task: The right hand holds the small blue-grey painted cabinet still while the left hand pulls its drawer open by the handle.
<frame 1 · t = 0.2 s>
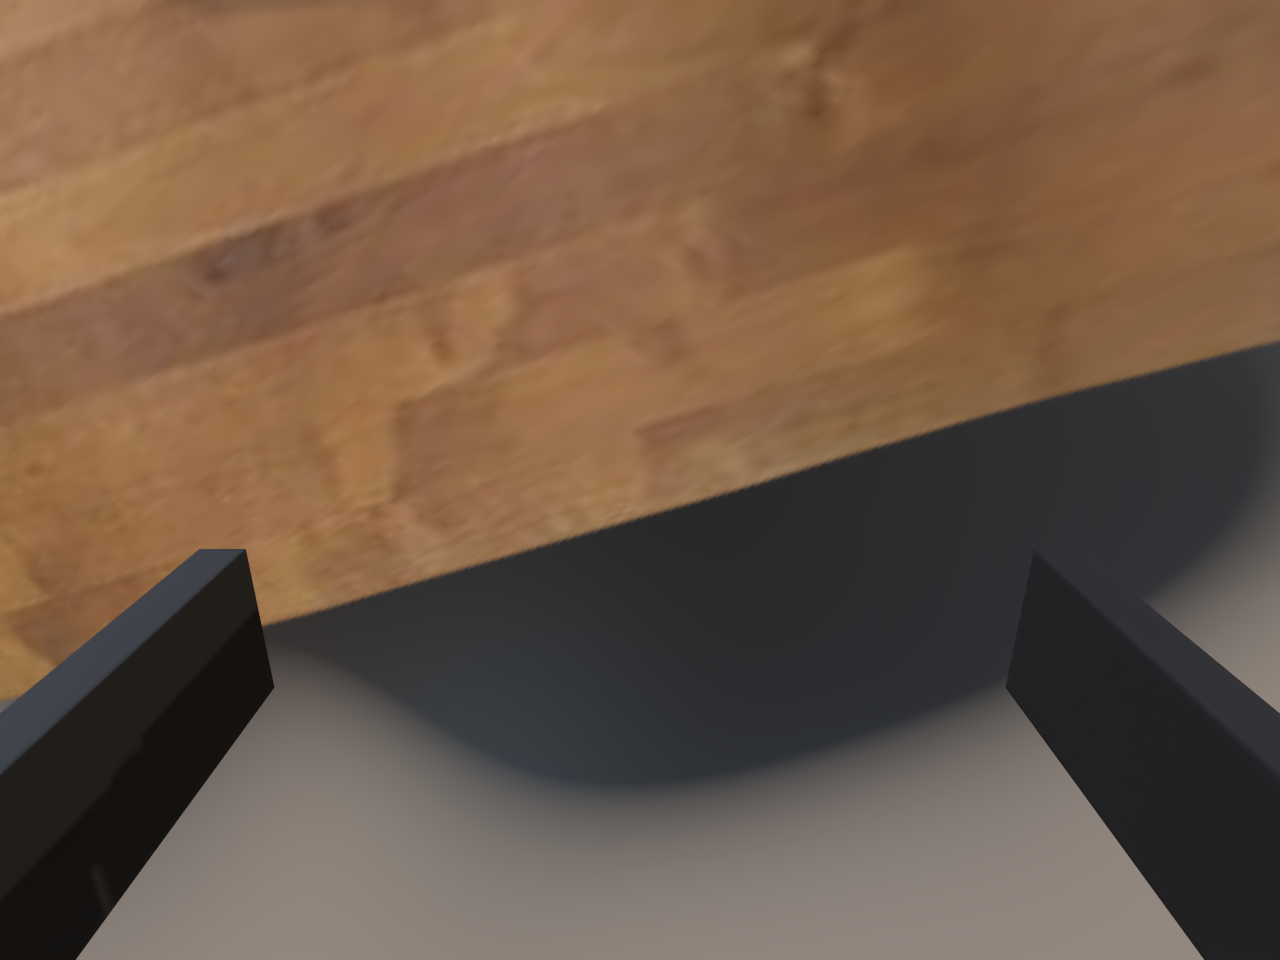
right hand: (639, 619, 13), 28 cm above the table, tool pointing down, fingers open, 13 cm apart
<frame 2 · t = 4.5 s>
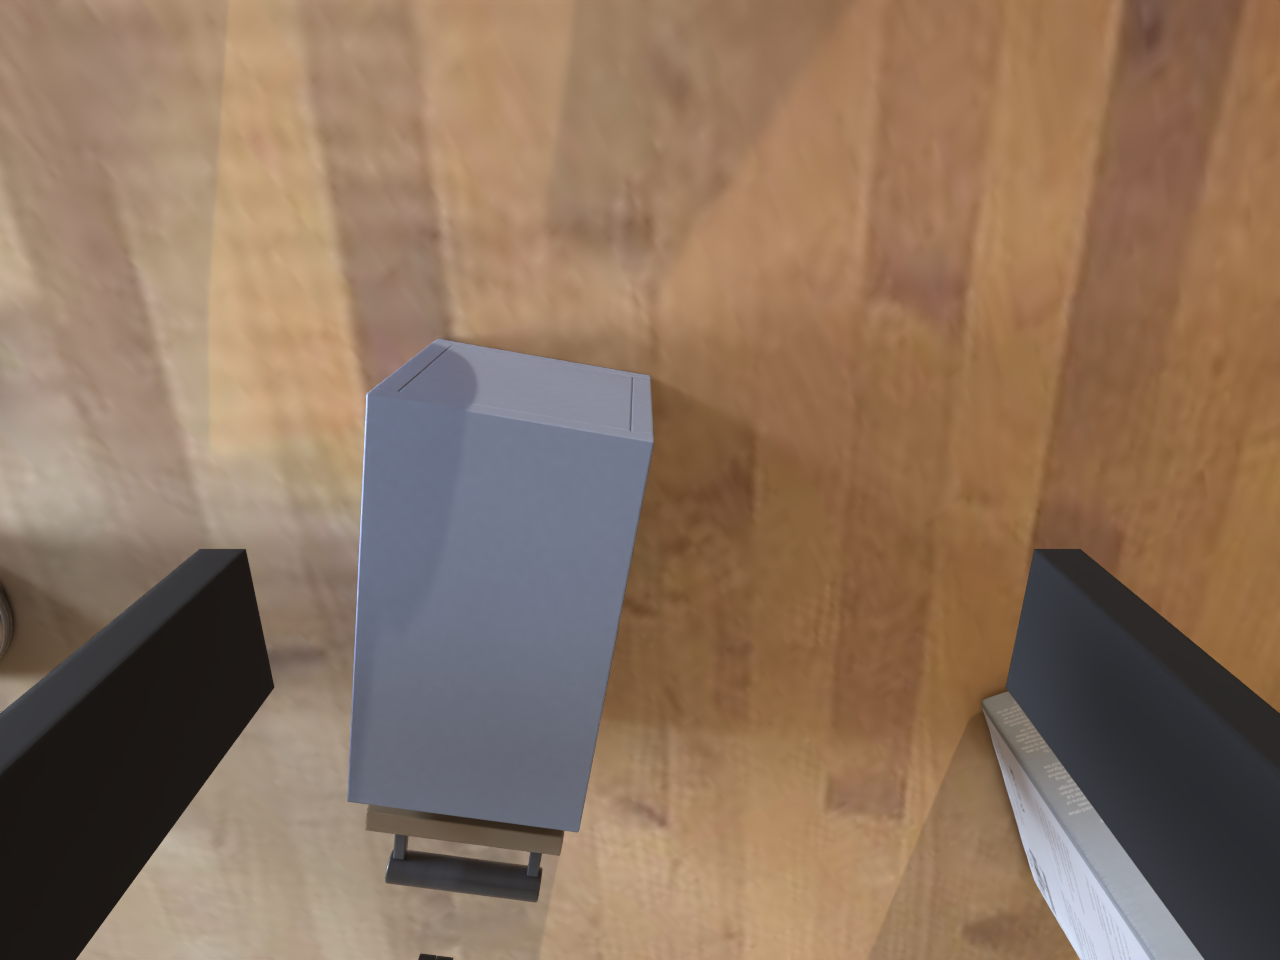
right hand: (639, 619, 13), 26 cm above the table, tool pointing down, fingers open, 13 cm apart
drawer: (492, 687, 38), point 5 cm above the table, slide at 1.4 cm
cabinet: (521, 531, 41), on the table
hard drive box: (1064, 770, 47), on the table
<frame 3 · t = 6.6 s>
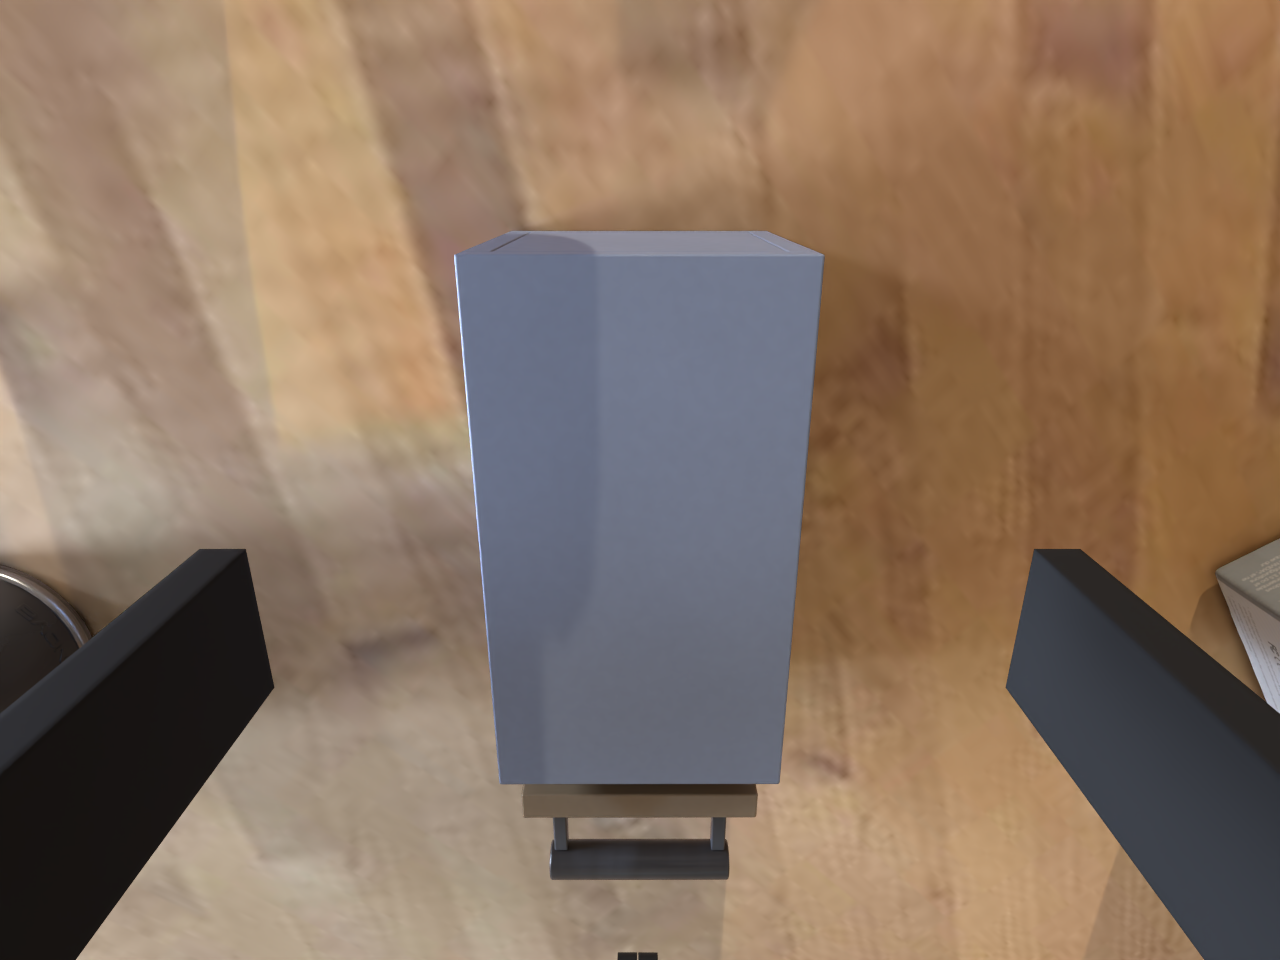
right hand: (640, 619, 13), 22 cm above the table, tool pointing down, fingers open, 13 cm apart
drawer: (639, 632, 32), point 5 cm above the table, slide at 1.4 cm
cabinet: (639, 452, 35), on the table
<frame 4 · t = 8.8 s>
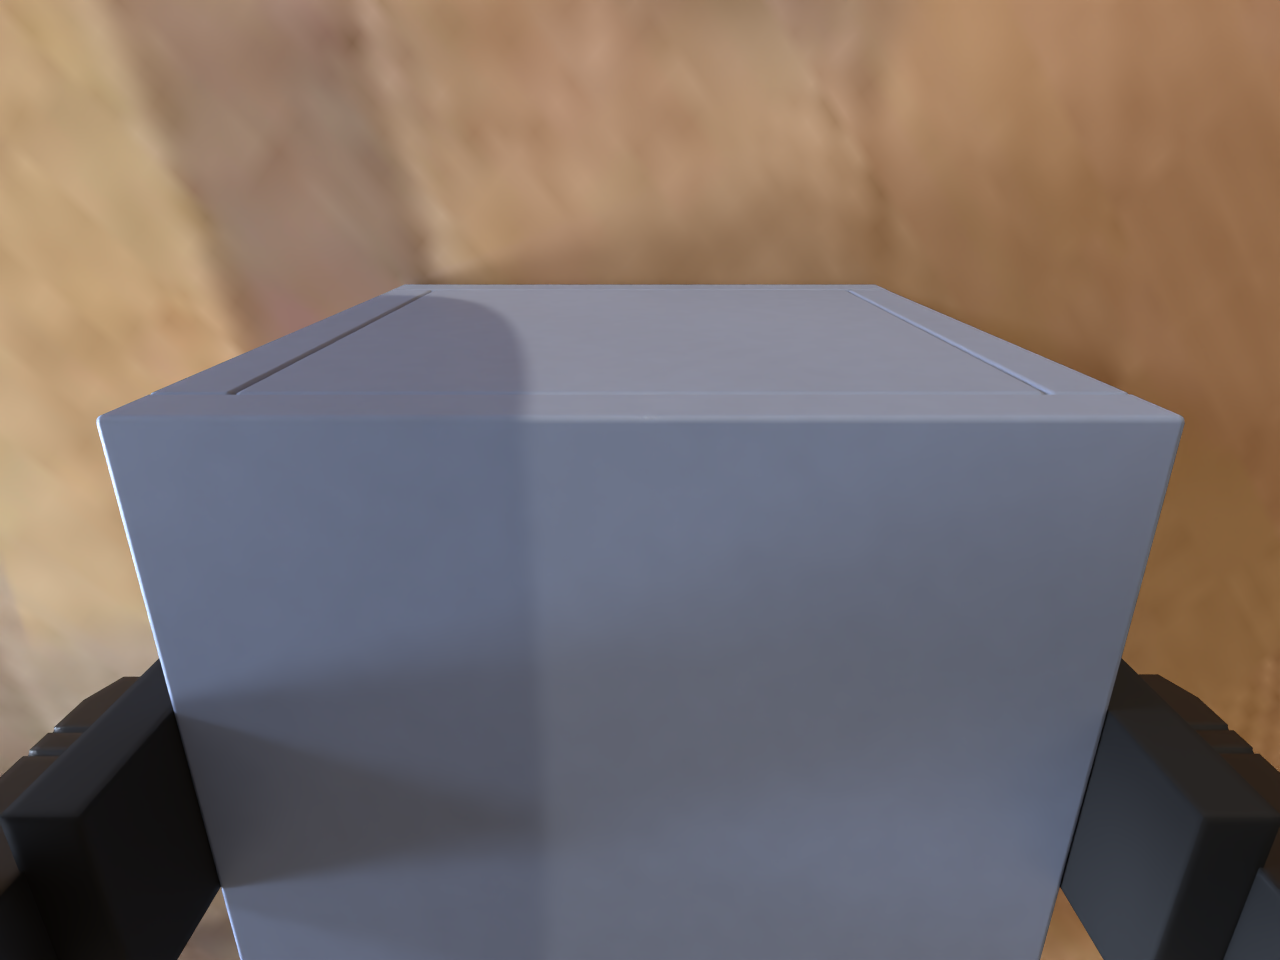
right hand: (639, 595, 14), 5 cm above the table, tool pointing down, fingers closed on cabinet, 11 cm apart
cabinet: (639, 651, 20), on the table, touching right hand
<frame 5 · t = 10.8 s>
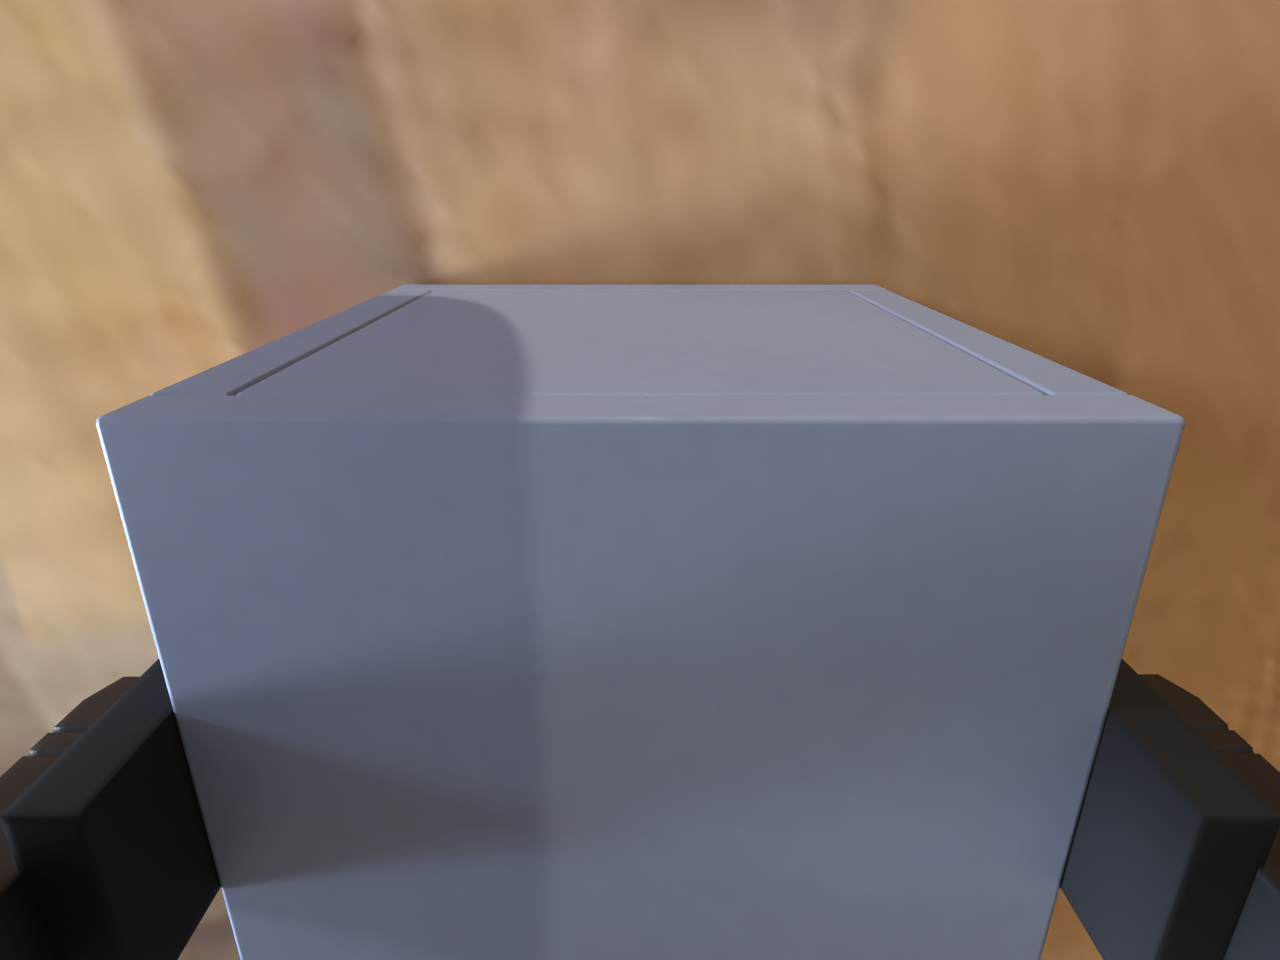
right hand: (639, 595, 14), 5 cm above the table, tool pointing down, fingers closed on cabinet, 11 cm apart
cabinet: (639, 651, 20), on the table, touching right hand
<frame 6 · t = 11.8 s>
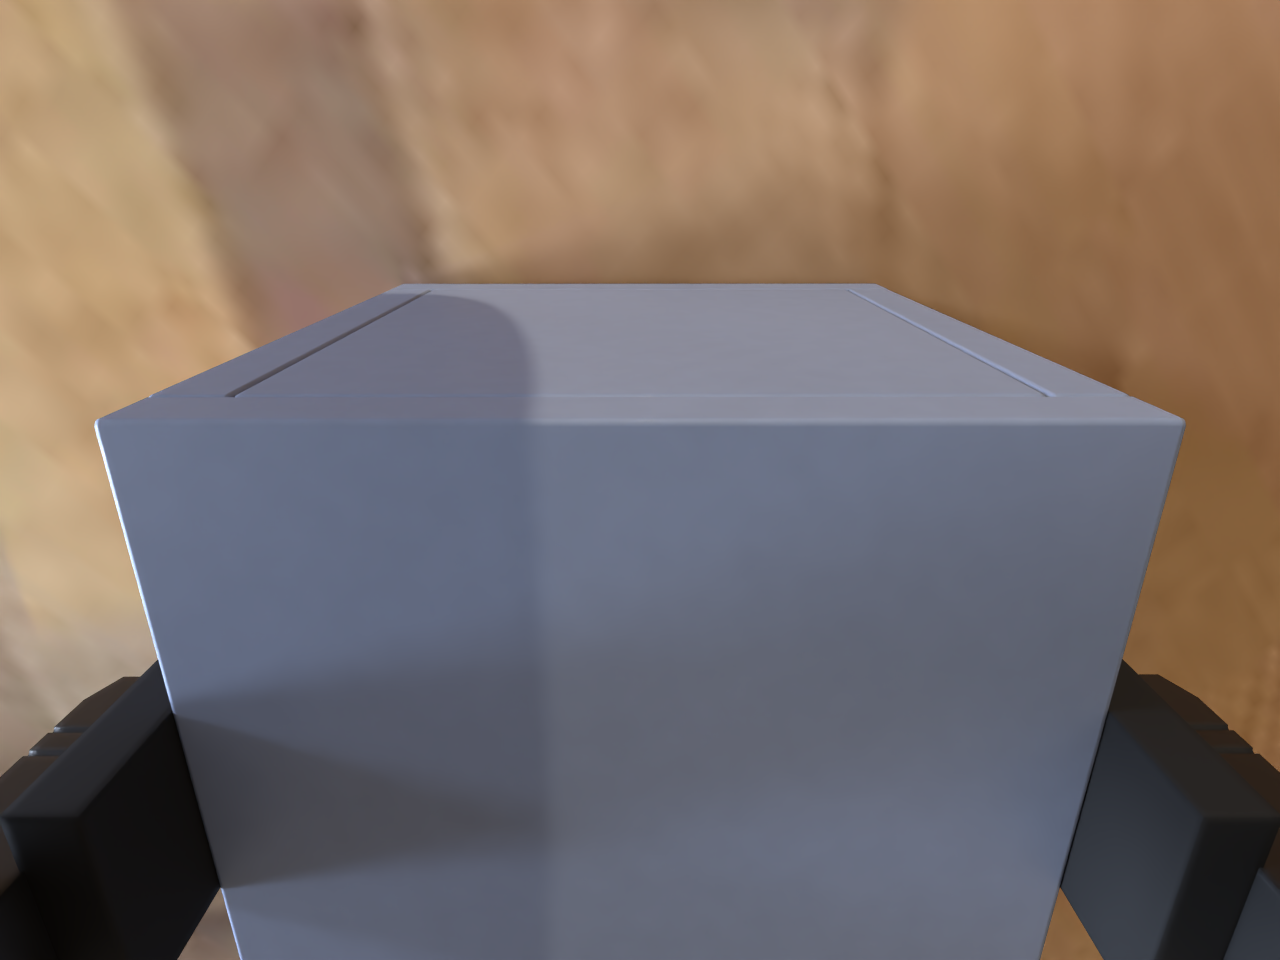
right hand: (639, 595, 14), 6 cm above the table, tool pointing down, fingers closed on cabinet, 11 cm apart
cabinet: (639, 650, 20), on the table, touching right hand
when the right hand's fingers open (5 cm above the table, at t = 13.5 s): cabinet stays where it is, on the table.
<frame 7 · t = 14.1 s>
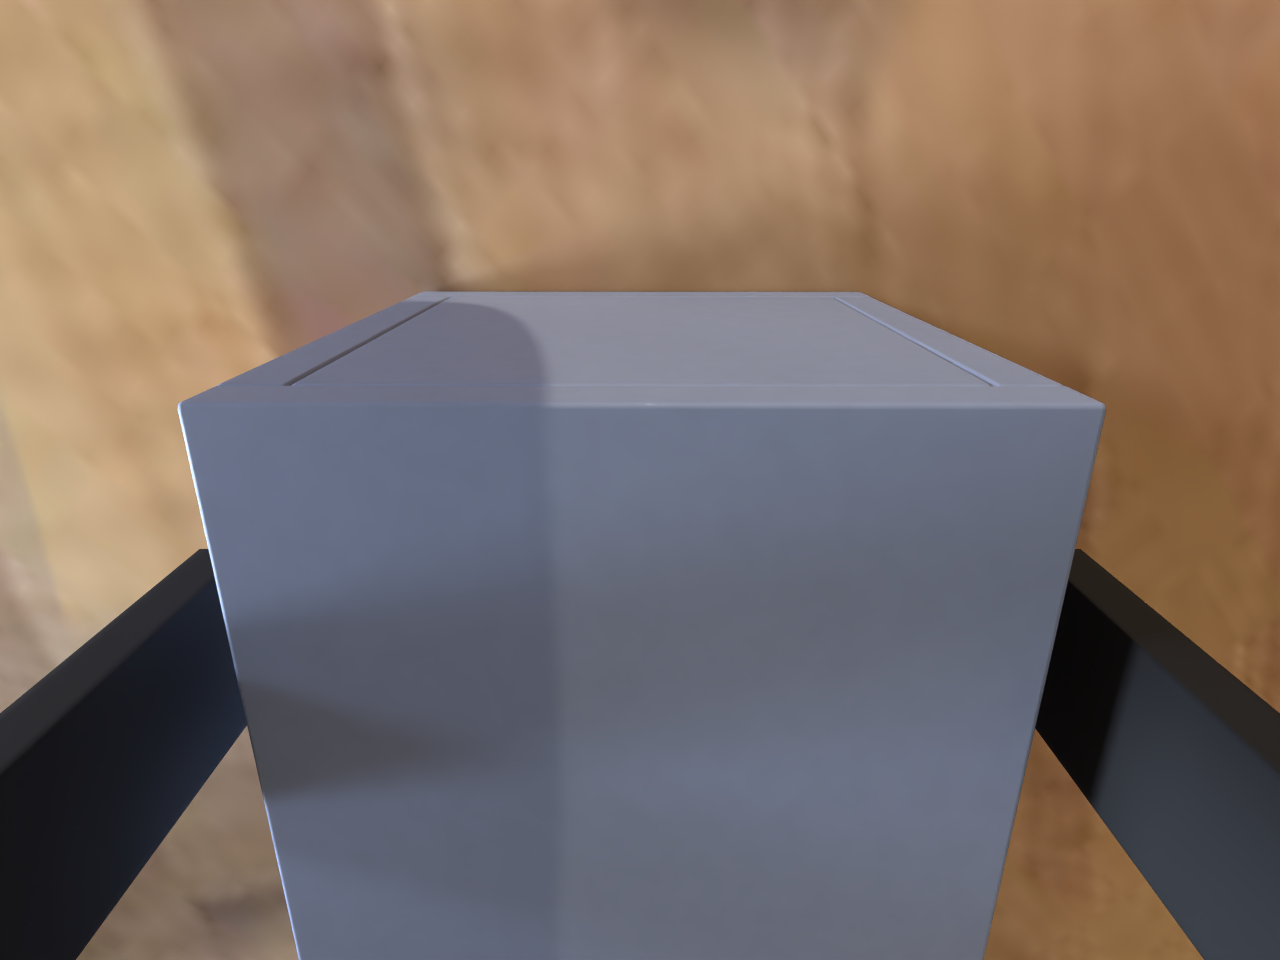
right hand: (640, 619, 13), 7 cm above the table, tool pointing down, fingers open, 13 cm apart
cabinet: (641, 637, 22), on the table
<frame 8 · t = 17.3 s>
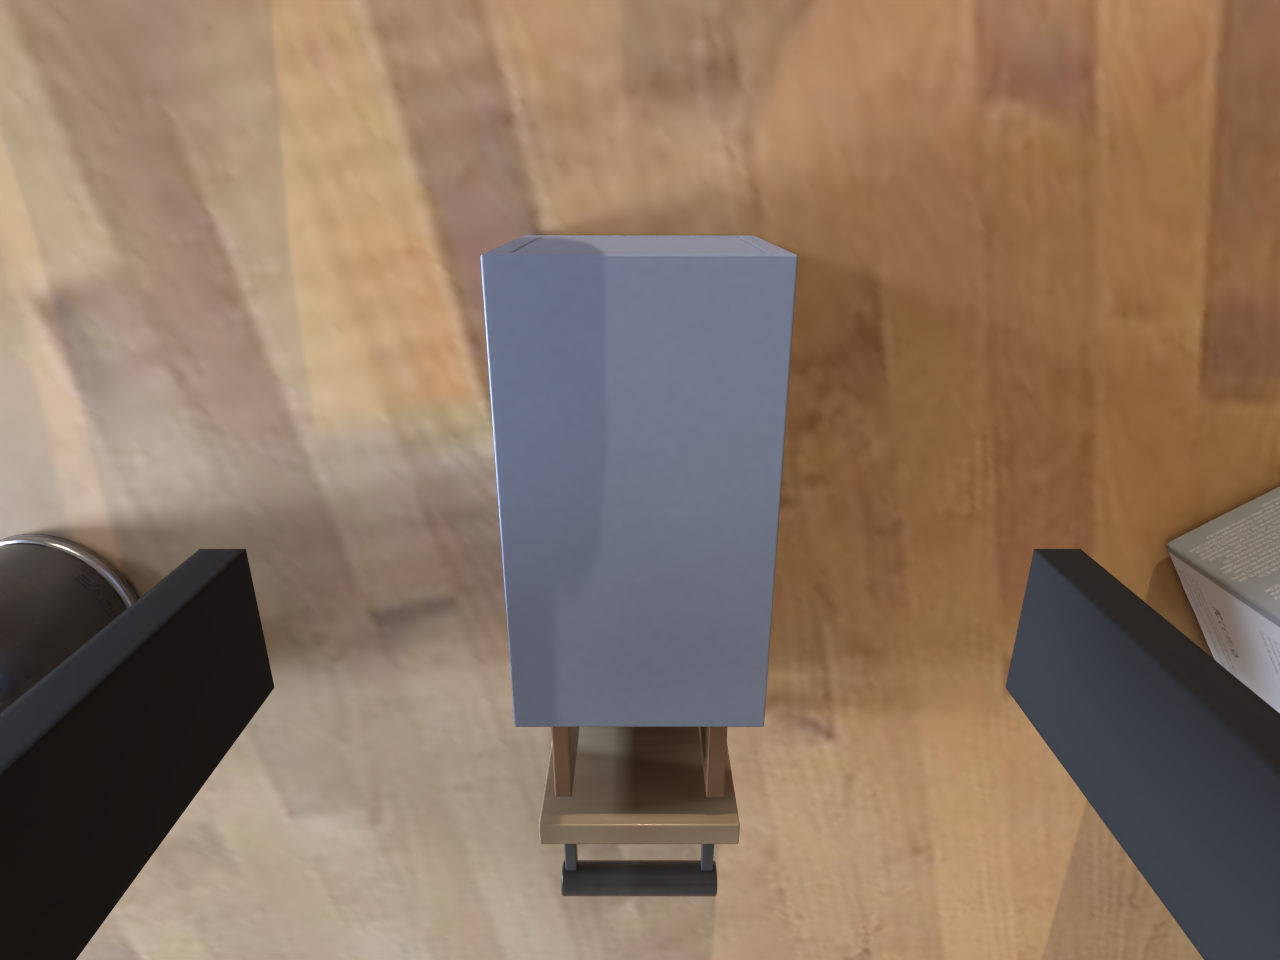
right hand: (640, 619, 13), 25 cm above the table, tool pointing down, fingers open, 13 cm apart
drawer: (639, 683, 38), point 5 cm above the table, slide at 6.3 cm
cabinet: (639, 435, 38), on the table
hard drive box: (1269, 612, 42), on the table
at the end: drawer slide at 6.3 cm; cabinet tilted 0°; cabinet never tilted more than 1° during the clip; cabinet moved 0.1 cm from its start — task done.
